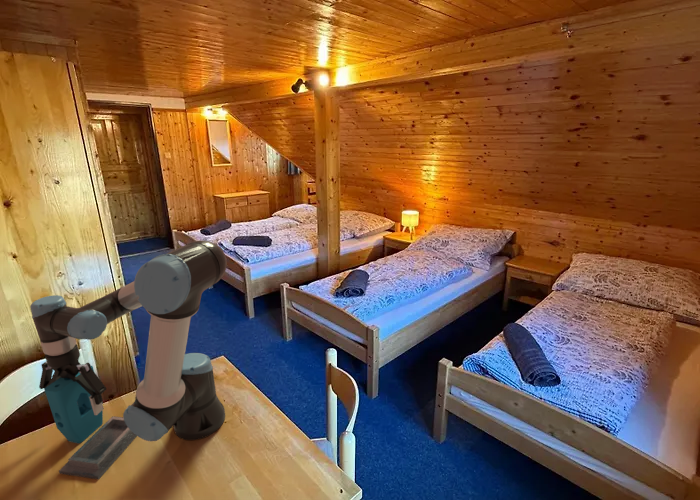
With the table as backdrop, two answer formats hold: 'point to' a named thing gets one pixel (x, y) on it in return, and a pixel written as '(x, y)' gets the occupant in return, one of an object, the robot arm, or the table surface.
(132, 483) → the table surface
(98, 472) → the grey rectangular tray
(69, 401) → the block
